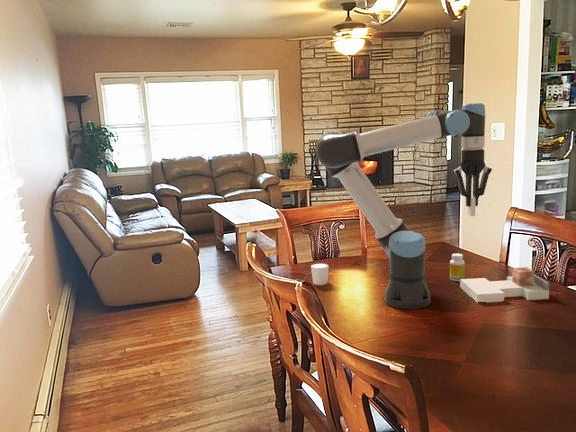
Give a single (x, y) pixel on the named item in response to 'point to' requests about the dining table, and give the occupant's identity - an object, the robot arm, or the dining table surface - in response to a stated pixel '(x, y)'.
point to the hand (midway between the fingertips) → (471, 215)
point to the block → (523, 276)
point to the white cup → (320, 273)
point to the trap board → (504, 289)
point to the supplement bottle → (457, 267)
